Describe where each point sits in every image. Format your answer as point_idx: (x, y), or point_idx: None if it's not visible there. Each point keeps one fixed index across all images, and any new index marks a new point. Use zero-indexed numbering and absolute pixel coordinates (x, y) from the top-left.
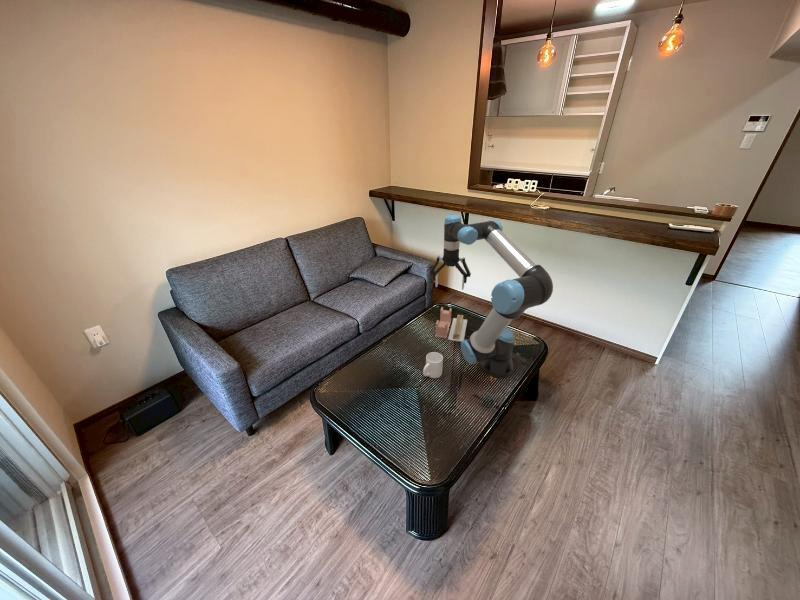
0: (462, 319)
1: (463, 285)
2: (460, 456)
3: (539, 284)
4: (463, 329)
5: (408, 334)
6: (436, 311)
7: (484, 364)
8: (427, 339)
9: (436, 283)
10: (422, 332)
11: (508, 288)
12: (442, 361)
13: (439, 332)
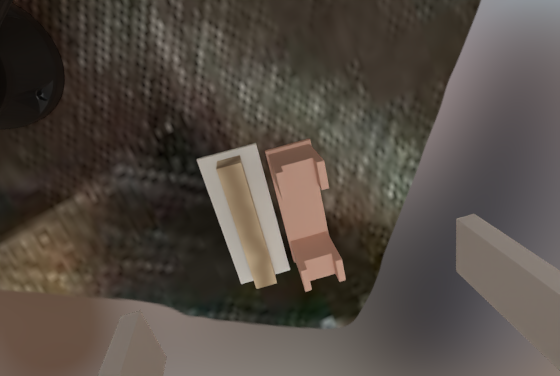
0: (249, 266)
1: (101, 371)
2: None
3: None
4: (229, 226)
5: (408, 102)
6: (359, 277)
7: (19, 21)
8: (329, 108)
9: (503, 245)
10: (362, 140)
11: None
12: None
13: (297, 151)
